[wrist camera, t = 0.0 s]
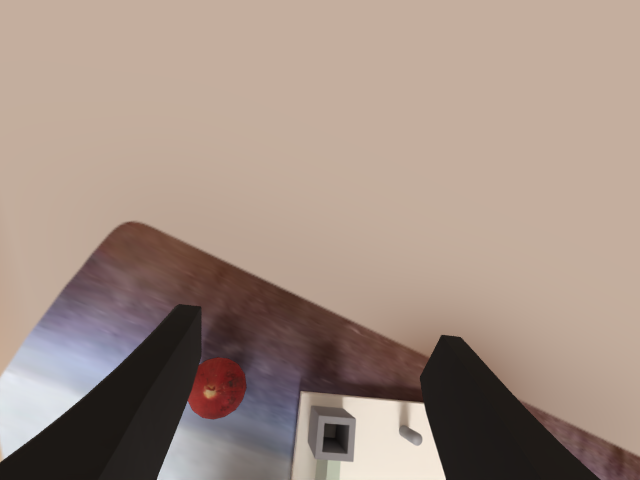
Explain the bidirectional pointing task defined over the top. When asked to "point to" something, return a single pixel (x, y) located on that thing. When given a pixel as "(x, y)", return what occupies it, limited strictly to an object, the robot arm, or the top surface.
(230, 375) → the onion
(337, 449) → the door leaf
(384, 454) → the board
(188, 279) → the top surface
